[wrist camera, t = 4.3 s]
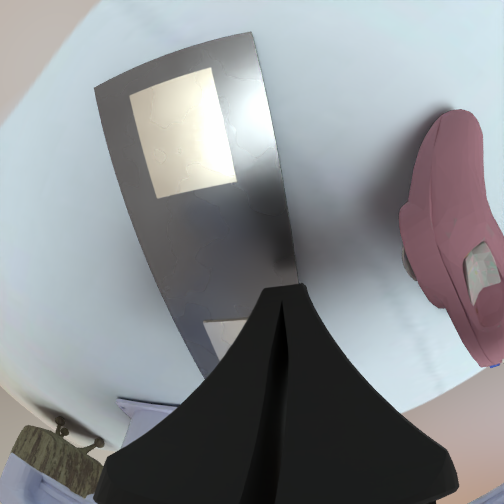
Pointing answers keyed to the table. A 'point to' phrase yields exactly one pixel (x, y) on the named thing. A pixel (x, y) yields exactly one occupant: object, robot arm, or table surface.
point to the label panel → (202, 185)
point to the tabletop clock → (60, 457)
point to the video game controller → (456, 235)
